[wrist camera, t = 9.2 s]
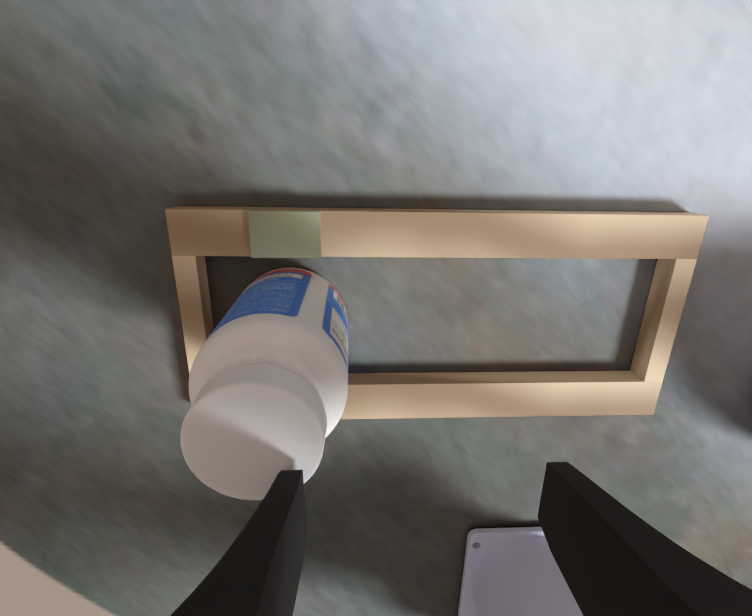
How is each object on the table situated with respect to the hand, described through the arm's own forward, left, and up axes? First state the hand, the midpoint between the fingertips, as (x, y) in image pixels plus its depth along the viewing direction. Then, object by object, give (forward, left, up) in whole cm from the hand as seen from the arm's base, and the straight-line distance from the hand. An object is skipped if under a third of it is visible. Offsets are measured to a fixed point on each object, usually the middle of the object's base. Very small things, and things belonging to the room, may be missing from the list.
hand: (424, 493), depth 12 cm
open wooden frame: (+2, -2, -10) cm, 10 cm away
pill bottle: (+2, +5, -10) cm, 12 cm away
